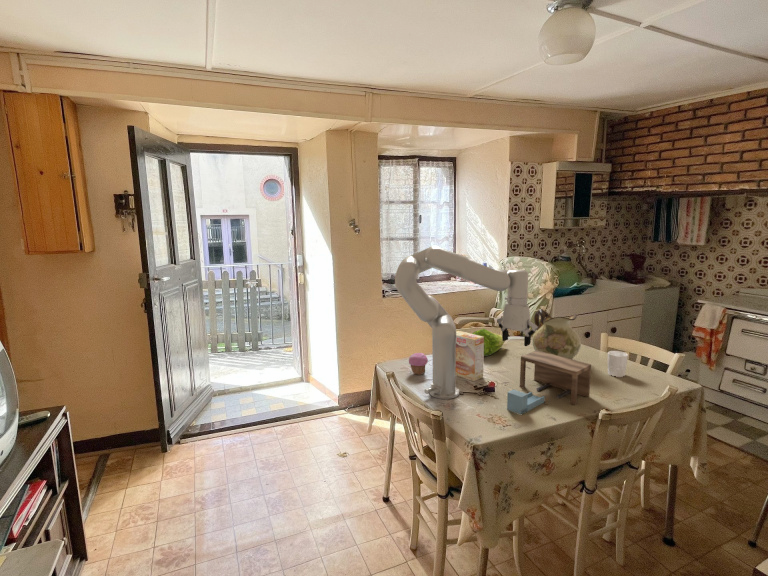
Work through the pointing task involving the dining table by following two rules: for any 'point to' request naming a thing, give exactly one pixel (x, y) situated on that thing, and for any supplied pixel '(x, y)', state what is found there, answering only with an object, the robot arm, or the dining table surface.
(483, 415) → the dining table surface
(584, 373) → the shelf
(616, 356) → the white cup
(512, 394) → the light blue channel block
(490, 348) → the lettuce
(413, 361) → the cupcake
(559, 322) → the pitcher
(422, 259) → the robot arm
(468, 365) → the coffeecake box
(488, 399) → the dining table surface
